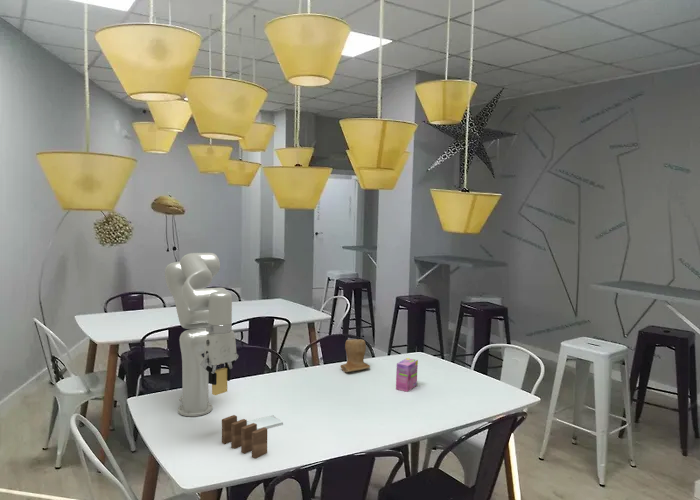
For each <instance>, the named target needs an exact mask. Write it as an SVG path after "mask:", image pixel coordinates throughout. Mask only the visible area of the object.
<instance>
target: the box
mask: <svg viewBox="0 0 700 500" xmlns="http://www.w3.org/2000/svg"><path fill="white" fill-rule="evenodd" d="M418 364H419V359H415V358H409V357H406V358H404V359H402V360H401V361H399V362H397V363H396V377H395V390H396V391H401V392H406V393H408V392H409V391H411V390H412V389H414V388H416V386H417V385H418V366H419V365H418Z"/></svg>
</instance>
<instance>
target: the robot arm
mask: <svg viewBox="0 0 700 500" xmlns="http://www.w3.org/2000/svg"><path fill="white" fill-rule="evenodd" d="M220 262H221V260H220V259H219V256H217V254H216V253H214V252H190V253H187V254H185V255H183V256H182V257H181V259H180V261H174V262H171V263H169V264H167V265H166V267H165V271H164V277H165V284H166V286H167V288H168V291H169V292H170V294H171V296H172V298H173V300H174V304H175V309H176V314H177V318H178V322H179V324H180V326H181V327H182V328H183V329H186V330H184V331H183V332H181V334H180V336H179V348H180V352H181V353H180V354H181V365H182V366H181V368H182V370H181V372H182V373H181V374H182V378H181V379H182V380H181V381H182V389H181V390H182V396H180V397H179V401H180V402H181V405H180V406H179V407H178V409H177V413H178V414H179V415H182V416H184V417H200V416H204V415H206V414H207V415H208V414H209V413H210V412H212V411H213V405H212V403H210V402H209V384H210V385H212V384H213V385H216V384H217V374H216V373H215V370H217V366H218V365H223V364H224V366H223V367H225V368H227V382H230V381H231V375H232V374H231V373H232V371H231V370H232V369H233V366H234V364H235V362H236V361H237V360H238V359H239V354H238V353H237V344H236V343H237V342H236V336H235V331H233V328H232V324H233V323H232V322H233V320H232V319H233V318H232V317H233V312H232V311H233V296H232V293H231V292H230V291H228V290H227V289H226V288H224V287H208V286H209V285H210V284H211V283H212V281H213V278H214V277H215V276H216V275H217V274H218V273H219V272H220V268H221V263H220ZM202 354H204V355H202ZM203 356H204V357H203Z"/></svg>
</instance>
